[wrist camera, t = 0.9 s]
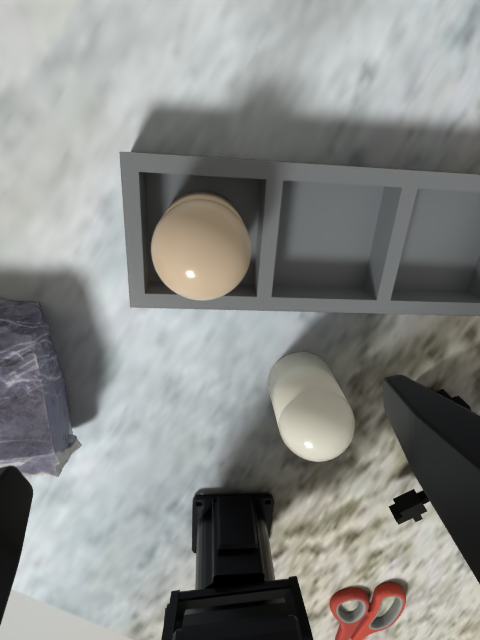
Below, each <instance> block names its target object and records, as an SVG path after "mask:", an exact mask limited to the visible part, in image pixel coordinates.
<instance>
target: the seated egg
mask: <svg viewBox="0 0 480 640" xmlns="http://www.w3.org/2000/svg"><path fill="white" fill-rule="evenodd" d="M151 256H152V261H153V265H154V267H155V270H156V272H157V274H158V276H159V277H160V279H161V280H162V281H163V282H164V284H165V285H166V286H167V287H169V288H170V289H171V290H172V291H174V292H175V293H177V294H178V295H180V296H183V297H185V298H188V299H192V300H200V301H202V300H212V299H216V298H219V297H221V296H224V295H225V294H227V293H229V292H230V291H232V290H233V289H234V288H235V287H236V286H237V285H238V284H239V283H240V282H241V281H242V279H243V278H244V276H245V274H246V272H247V270H248V267H249V264H250V260H251V242H250V238H249V234H248V231H247V229H246V227H245V225H244V223H243V221H242V219H241V217H240V215H239V213H238V211H237V209H236V208H235V206H234V205H233V204H232V203H231V202H230V201H229V200H228V199H227V198H225V197H224V196H222V195H221V194H219V193H216V192H213V191H209V190H194V191H190V192H187V193H185V194H183V195H181V196H180V197H178V198H177V199H176V200H175V201H174V202H173V203H172V204H171V205H170V207H169V208H168V210H167V211H166V212H165V214H164V215H163V216H162V218H161V219H160V221H159V222H158V224H157V226H156V228H155V230H154V233H153V237H152V242H151Z"/></svg>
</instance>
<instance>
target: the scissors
mask: <svg viewBox="0 0 480 640" xmlns="http://www.w3.org/2000/svg"><path fill="white" fill-rule="evenodd" d="M387 597H396V598H395V600H394V603H393V604H392V606H391V607H390V609H389V610H388V611H387V612H386V613H385V614H384V615H383V616H382V617H380V618H377V619H375V618H376V616H377V615H378V613H379V611H380V609H381V606H382V602H383V600H384V599H385V598H387ZM352 600H357V601H360V603H359V605H358V607H357V608H356V609H355V610H354V611H352V612H350V613H345V612H343V611H342V610H340V608H339V606H340V605H341V604H342V603H344V602H347V601H352ZM405 604H406V596H405V593H404V591H403V589H402V588H401V586H399V585H398V584H396V583H384V584H381V585H379V586H378V587H376V588H375V590H374V593H373V597H372V600H371V603H369V597H368V595H367V593H366V592H365V591H364V590H362V589H359V588H347V589H343V590H340V591H338V592H337V593H335V594H334V595H333V596H332V597H331V599H330V608H331V611H332V613H333V615H334V617H335V618H336V619H337V620H338V621H339V622H340V625H339V628H338V632H337V635H336V638H335V640H363V639H364V638H365V637H366V636H368V635H370V634H372V633H374V632H377V631H381V630H384V629H386V628H388V627H390V626H391V625H392V624H393V623H394V622H395V621H396V620H397V619H398V618H399V616H400V615H401V613H402V612H403V610H404V607H405Z"/></svg>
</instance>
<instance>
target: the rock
mask: <svg viewBox="0 0 480 640" xmlns="http://www.w3.org/2000/svg"><path fill="white" fill-rule="evenodd" d="M49 332H50V330H49V326H48V325H46V324H45V321H44V318H43V314H42V310H41V306H40V303H39V302H25V301H10V300H6V299H4V298H0V468H1V467H6V466H10V465H11V466H15V467H17V468H18V469H19V471H20V472H21V473H22V474H23V475H24V477H25V478H29V477H33V476H41V475H46V476H50V477H58V476H59V475H60V473H61V471H62V468H63V467H64V465H65V464H66V463H67V461H68V460H69V458H70V456H71V454H72V453H73V452H75V451H76V450H77V449H79V448H80V447H81V446H82V444H81V443H80V442H79V441H78V439H77V437H76V436H75V435H73V432H72V427H71V422H70V417H69V409H68V404H67V396H66V387H65V382H64V378H63V375H62V371H61V368H60V365H59V362H58V359H57V355H56V352H55V350H54V347H53V344H52V342H51V339H50V337H49Z"/></svg>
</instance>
